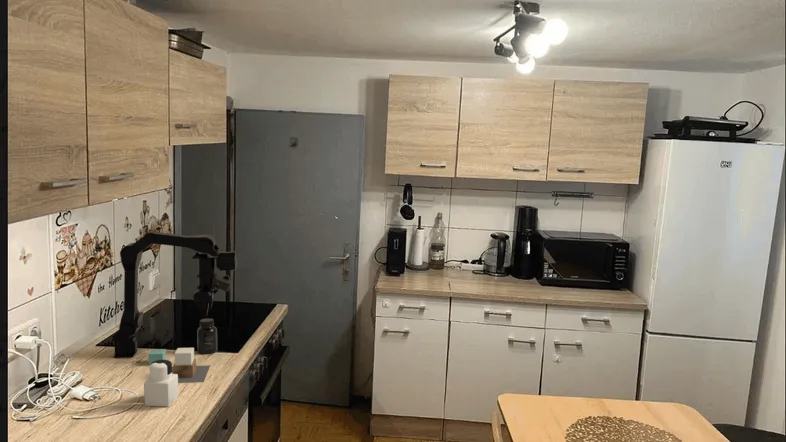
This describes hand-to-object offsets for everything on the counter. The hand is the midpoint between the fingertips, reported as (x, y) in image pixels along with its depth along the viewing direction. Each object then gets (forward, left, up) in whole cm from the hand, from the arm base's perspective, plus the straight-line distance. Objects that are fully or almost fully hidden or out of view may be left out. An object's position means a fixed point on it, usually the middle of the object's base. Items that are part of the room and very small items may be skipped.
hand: (207, 313), depth 208 cm
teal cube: (-15, -10, -15) cm, 23 cm away
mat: (-4, -21, -15) cm, 26 cm away
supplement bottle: (0, 0, -15) cm, 15 cm away
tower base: (-4, -21, -14) cm, 26 cm away
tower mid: (-4, -21, -10) cm, 24 cm away
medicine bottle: (-7, -40, -15) cm, 43 cm away
